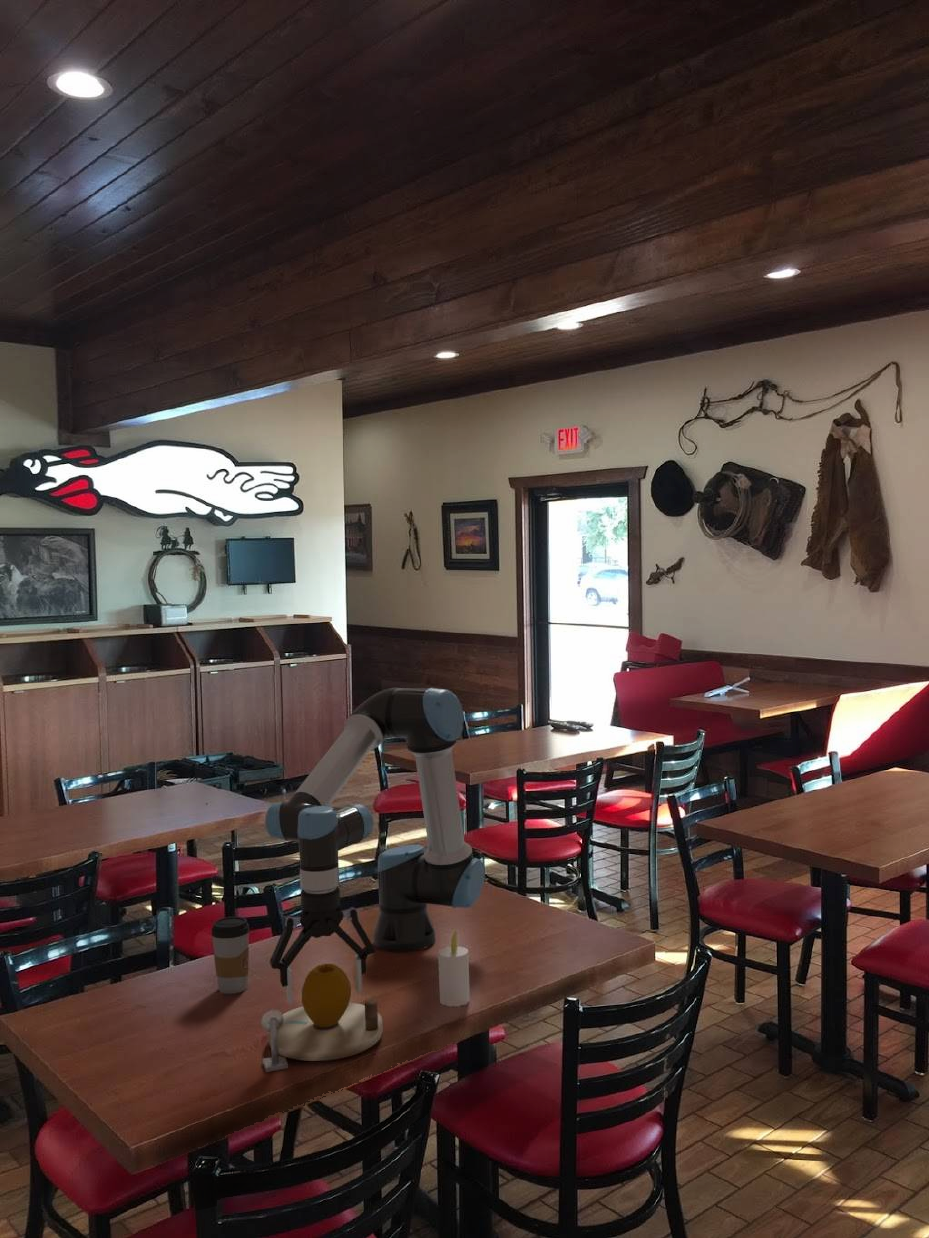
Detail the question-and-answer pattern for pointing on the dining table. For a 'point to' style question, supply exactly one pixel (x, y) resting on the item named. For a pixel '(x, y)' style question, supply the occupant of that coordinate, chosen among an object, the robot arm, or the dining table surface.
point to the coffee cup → (231, 953)
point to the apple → (326, 994)
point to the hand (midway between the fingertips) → (324, 995)
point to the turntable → (329, 1034)
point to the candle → (454, 974)
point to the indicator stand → (273, 1040)
